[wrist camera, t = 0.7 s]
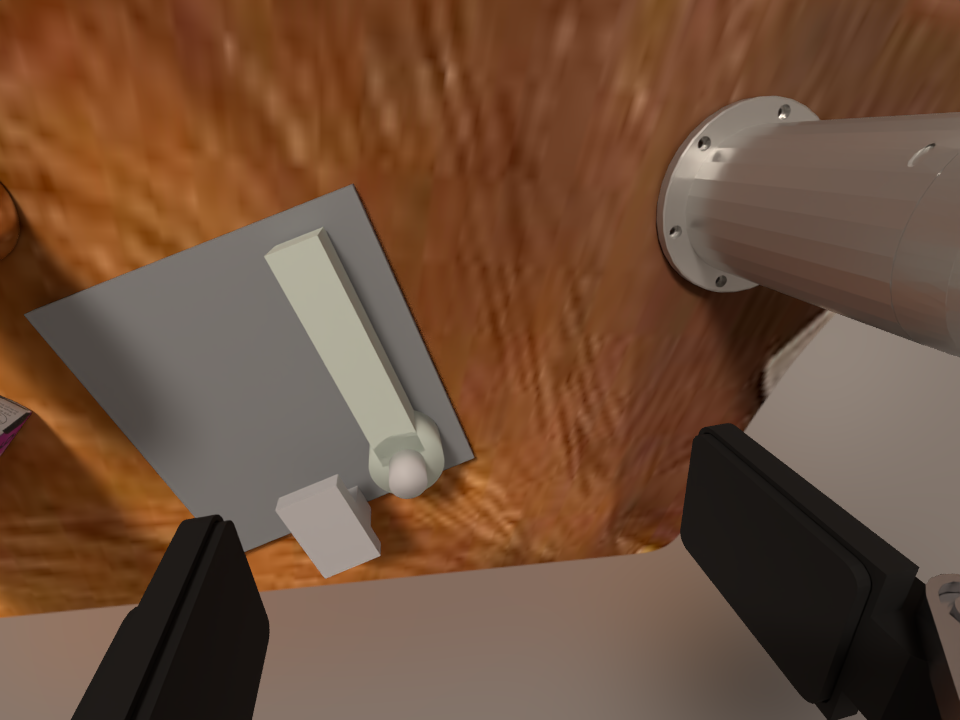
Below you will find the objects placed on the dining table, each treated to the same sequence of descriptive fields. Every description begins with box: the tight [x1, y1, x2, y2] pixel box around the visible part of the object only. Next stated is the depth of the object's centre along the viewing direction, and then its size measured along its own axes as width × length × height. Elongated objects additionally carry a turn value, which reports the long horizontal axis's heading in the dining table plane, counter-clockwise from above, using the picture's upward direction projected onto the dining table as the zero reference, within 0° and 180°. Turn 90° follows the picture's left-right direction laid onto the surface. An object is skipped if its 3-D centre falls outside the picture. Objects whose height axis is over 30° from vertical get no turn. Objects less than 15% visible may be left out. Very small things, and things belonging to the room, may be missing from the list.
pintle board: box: [24, 184, 474, 579], centre depth 30 cm, size 20×22×6 cm
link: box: [264, 227, 444, 499], centre depth 30 cm, size 18×5×5 cm, turn 20°
